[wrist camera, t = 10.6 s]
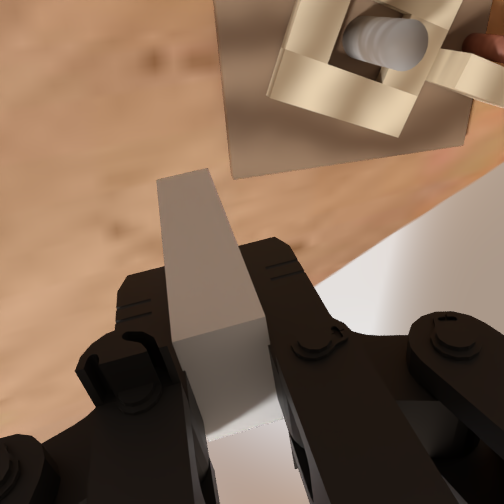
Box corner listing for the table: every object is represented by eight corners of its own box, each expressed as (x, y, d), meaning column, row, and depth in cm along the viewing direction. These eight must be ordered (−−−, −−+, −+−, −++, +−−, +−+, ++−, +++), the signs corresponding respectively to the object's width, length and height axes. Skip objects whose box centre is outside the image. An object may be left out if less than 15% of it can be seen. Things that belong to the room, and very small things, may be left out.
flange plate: (266, 95, 33) (284, 109, 28) (323, -90, 27) (357, -108, 23) (452, 153, 39) (491, 172, 35) (528, 12, 34) (586, 13, 29)
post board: (200, -123, 26) (219, -166, 20) (508, -136, 30) (613, -176, 23) (231, 175, 37) (250, 213, 30) (455, 141, 40) (517, 170, 33)
